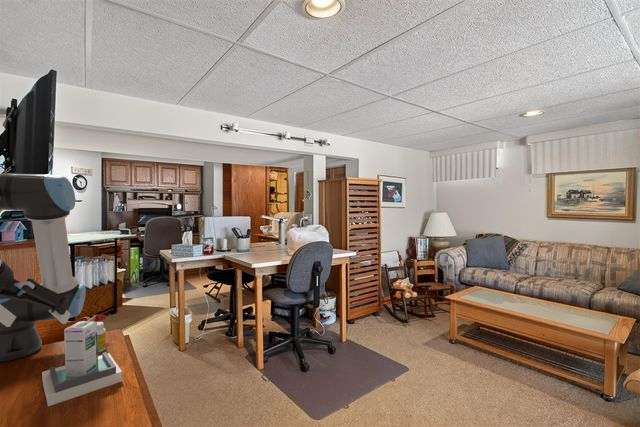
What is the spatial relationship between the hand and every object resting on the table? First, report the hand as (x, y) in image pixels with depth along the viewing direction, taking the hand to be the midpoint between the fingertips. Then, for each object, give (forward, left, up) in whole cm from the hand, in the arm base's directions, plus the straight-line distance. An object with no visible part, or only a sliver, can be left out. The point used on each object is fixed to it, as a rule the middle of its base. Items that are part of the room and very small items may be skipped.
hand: (39, 320), depth 82 cm
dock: (-12, +3, -23) cm, 26 cm away
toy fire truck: (-37, -13, -23) cm, 46 cm away
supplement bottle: (-32, -6, -23) cm, 40 cm away
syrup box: (-11, +3, -20) cm, 23 cm away
